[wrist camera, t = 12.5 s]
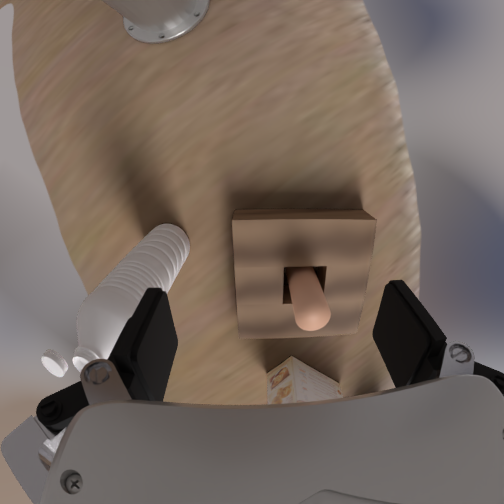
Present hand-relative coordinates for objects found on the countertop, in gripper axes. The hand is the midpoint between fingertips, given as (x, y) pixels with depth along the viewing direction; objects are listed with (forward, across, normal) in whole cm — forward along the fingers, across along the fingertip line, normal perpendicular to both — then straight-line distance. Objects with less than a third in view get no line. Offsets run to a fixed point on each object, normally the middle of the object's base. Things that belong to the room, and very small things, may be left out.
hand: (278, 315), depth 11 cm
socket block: (+26, -6, +13) cm, 30 cm away
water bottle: (+27, +14, +9) cm, 32 cm away
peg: (+26, -6, +13) cm, 30 cm away
